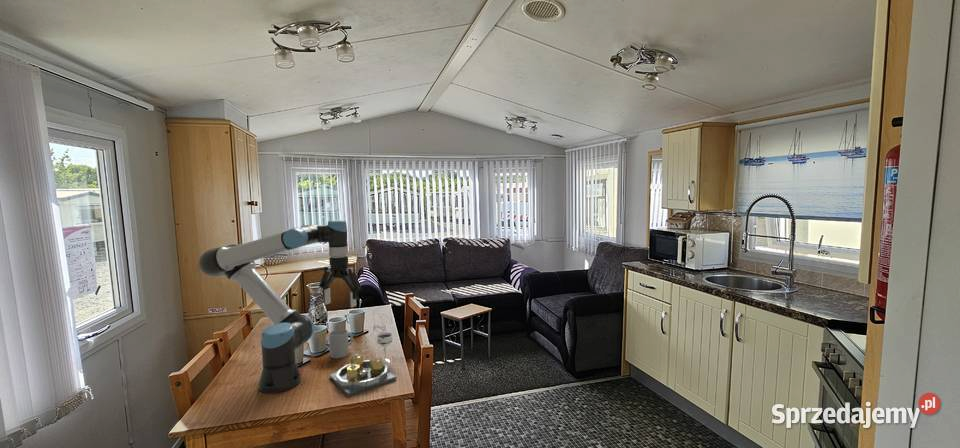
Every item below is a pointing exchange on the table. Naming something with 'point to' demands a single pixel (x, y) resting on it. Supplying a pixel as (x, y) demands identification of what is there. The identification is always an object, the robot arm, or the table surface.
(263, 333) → the robot arm
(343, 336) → the mug
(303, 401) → the table surface
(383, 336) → the wineglass
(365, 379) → the carrier
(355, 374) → the yellow hollow cylinder
